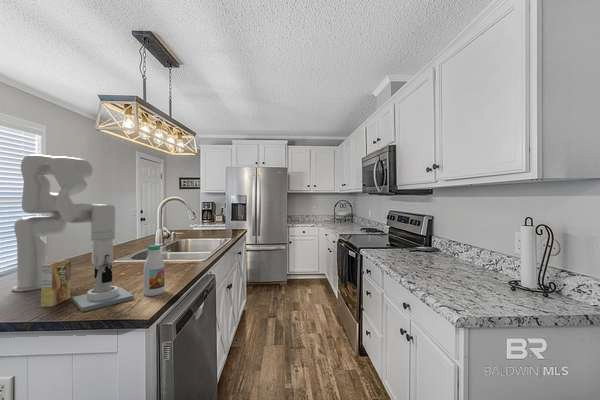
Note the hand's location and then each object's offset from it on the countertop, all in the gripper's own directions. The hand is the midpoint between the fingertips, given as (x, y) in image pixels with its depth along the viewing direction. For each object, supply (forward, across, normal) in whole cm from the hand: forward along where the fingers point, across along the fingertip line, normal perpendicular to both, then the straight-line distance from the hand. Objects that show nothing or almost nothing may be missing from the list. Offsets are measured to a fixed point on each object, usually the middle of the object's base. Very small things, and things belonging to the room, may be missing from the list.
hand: (103, 279), depth 105 cm
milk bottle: (+8, +7, +16) cm, 19 cm away
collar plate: (+8, 0, 0) cm, 8 cm away
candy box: (+8, -11, -12) cm, 18 cm away
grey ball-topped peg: (+6, 0, 0) cm, 7 cm away
